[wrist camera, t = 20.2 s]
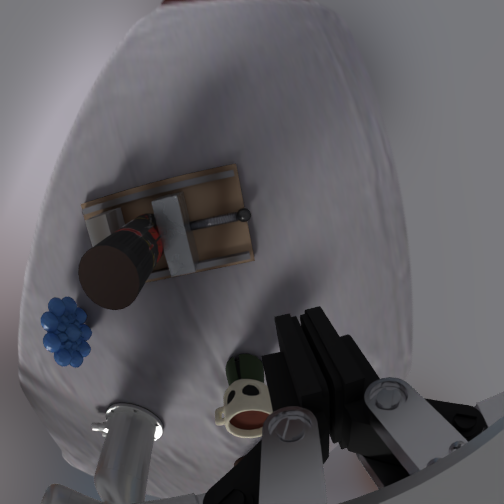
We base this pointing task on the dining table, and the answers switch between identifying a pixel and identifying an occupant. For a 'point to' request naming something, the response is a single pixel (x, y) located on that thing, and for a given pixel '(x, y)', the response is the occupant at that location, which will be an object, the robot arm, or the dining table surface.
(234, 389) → the character mug
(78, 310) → the grapes
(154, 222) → the deodorant
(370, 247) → the dining table surface
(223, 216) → the sliding jaw
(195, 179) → the vise bed
